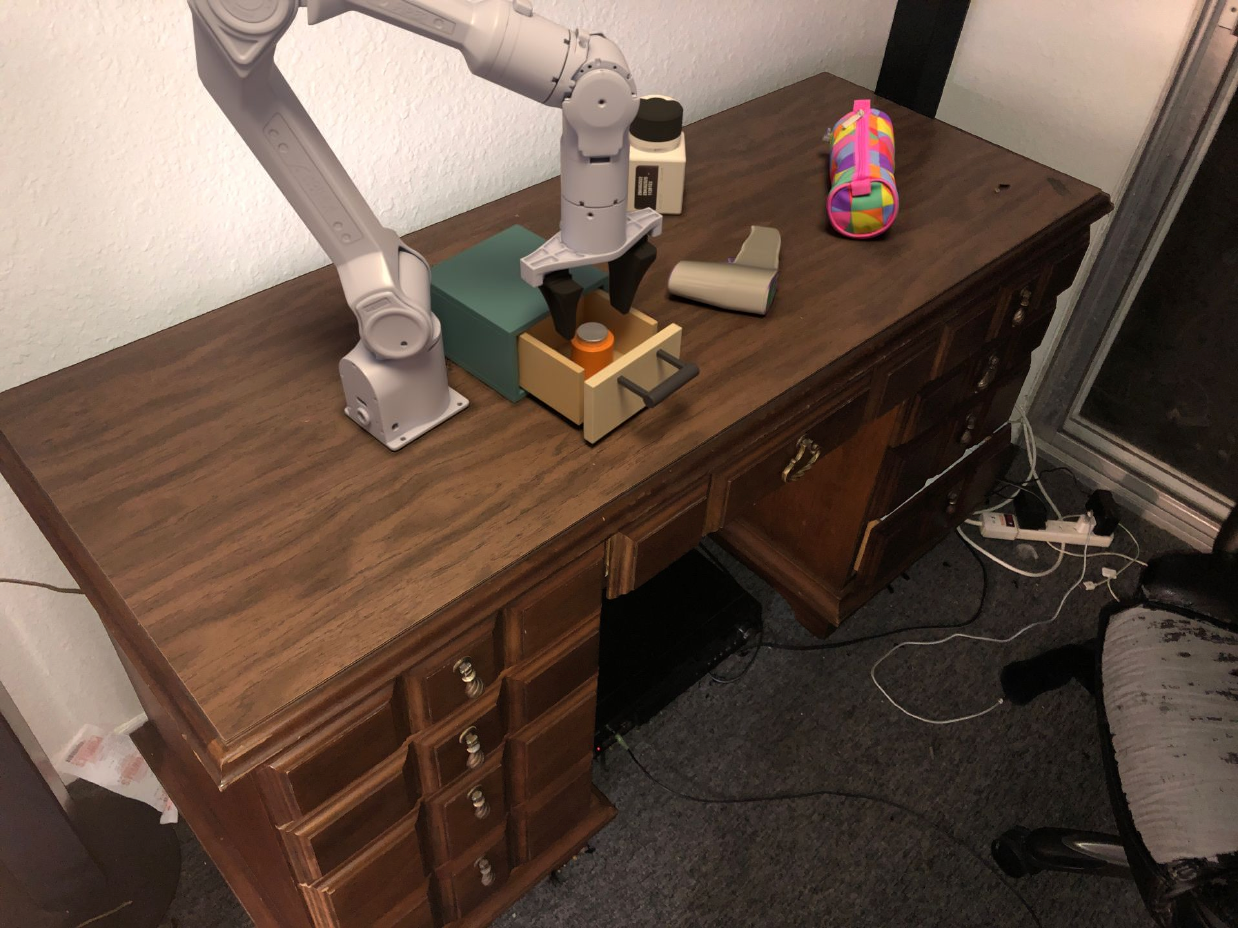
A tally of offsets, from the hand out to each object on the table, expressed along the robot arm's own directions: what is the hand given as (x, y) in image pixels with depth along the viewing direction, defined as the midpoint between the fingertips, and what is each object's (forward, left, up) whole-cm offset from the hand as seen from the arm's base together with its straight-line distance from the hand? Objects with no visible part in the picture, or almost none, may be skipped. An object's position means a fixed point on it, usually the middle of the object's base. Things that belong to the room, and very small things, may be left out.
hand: (592, 321), depth 90 cm
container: (+33, +21, -9) cm, 40 cm away
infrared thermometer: (+26, +3, -9) cm, 28 cm away
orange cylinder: (0, 0, -7) cm, 7 cm away
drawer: (0, -2, -8) cm, 8 cm away
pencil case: (+52, +2, -9) cm, 53 cm away
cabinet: (0, +11, -9) cm, 14 cm away
